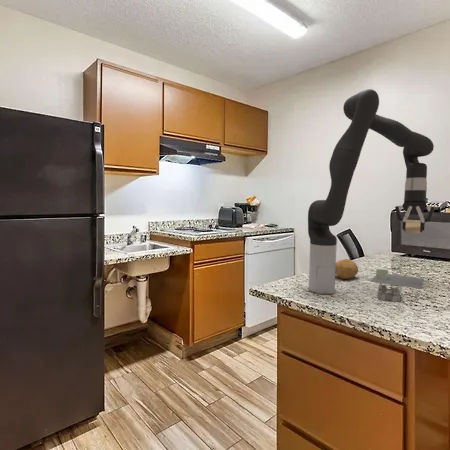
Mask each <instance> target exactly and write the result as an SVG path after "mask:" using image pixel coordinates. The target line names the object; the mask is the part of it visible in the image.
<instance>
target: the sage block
mask: <svg viewBox="0 0 450 450" xmlns="http://www.w3.org/2000/svg"><path fill="white" fill-rule="evenodd" d="M375 269H376V271H375V272H376V273H375V276H376V278H379V279H386V280H387V278H388V274H389V268H386V267H377V268H375Z"/></svg>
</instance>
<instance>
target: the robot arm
mask: <svg viewBox="0 0 450 450" xmlns="http://www.w3.org/2000/svg"><path fill="white" fill-rule="evenodd" d="M379 106H380V98H379V94H378V93H377V91H376V90H375V89H373V88H372V89H371V88H367V89H364V90H362V91H359V92H358V93H356V94H354V95H352V96H350V97H349V98H347V99H346V100H345V101H344V104H343V114H344V115H345V117H346V118H347V119H348V120H350V121H351V122H350V124H349V125H348V127H347V128H346V130H345V131H344V133H343V134H342V135H341V137H340V139H339V140H338V141H337V143H336V145H335V146H334V149H333V151H332V154H331V158H330V160H329V165H328V166H329V168H328V169H329V170H328V171H329V174H330V181H331V182H330V189H329V191H328V194H327V197H326V199H319V200H314V201H313V202H312V203H311V204H310V205H309V207H308V212H307V234H308V238H309V239H310V240H309V261H308V262H309V264H308V265H309V268H308V290H309V291H310V292H312V293H316V294H323V295H325V294H328V295H331V294H332V295H333V294H335V291H336V290H335V289H336V274H335V271H336V262H337V247H338V246H337V244H338V239H337V236H336V235H334V233H332V231H331V229H330V227H334V226H336V225H338V224H339V223H340V222H341V220H342V218H343V216H344V212H345V207H346V203H347V199H348V193H349V190H350V186H351V183H352V180H353V178H354V177H353V176H354V173H355V170H356V167H357V165H358V161H359V159H360V156H361V152H362V150H363V147H364V144H365V141H366V138H367V135H368V132H369V129H370V130H371V131H373V132H375V133H377V134H379V135H381V136H383V138H386V139H387V140H389V141H390V142H391V143H393V144H394V145H396V146H397V147H398V148H399V147H400V148H403V149H402V154H403V155H402V156H403V160H404V165H405V168H406V172H405V173H406V176H405V181H404V182H405V183H404V197H403V203H402V205H399V206H398V205H395V207H394V208H395V214H396V218H397V220H398V221H400V222H402V225H401V226H402V228H401V229H402V231H403V232H405V228H406V220H409V219H408V218H409V216H412V215H416V216H417V215H418V217H419V220H421V225H420V233H422V232H423V231H425V224H426V223H428V222H430V221H431V220H432V216H433V214H434V211H435V206H429V205H428V204H427V190H428V189H427V188H428V181H427V178H428V177H427V175H428V165H427V164H426V163H424V162H420V161H419V158H421V157H427V156H429V155H431V153H433V152H434V151H433V150H434V143H433V141H432V139H431V138H429V137H428V136H426V135H424V134H421V133H418V132H416V131H413V130H411V129H410V128H409V127H407V126H406V125H405V124H403V123H401V122H400V121H398V120H395V119H392V118H388V117H384V116H382V115H378V114H377V112H378V110H379ZM426 209H427V212H428V215H427V218H425V217H424V211H425V210H426ZM402 210H404V211H405V214H404V216H403V217H402V214H401V211H402Z"/></svg>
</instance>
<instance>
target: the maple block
mask: <svg viewBox="0 0 450 450" xmlns="http://www.w3.org/2000/svg"><path fill="white" fill-rule="evenodd" d="M420 225H421V220H420V219H407V220H406V228H405V231H404V232H405V233H409V234H421V232H420Z"/></svg>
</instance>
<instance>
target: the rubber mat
mask: <svg viewBox="0 0 450 450" xmlns="http://www.w3.org/2000/svg"><path fill="white" fill-rule="evenodd" d="M424 281H425V278H421V277H414V276H413V277H412V276H405V275H398V274H389V273H388V278H387V280H386V279H379V278H376V275H374V276H373V277H372V279H371V280H370V283H378V284H380V283H381V284H383V285H391V286H399V287H405V288H413V289H420V290H422V289H423V286H424Z"/></svg>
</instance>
